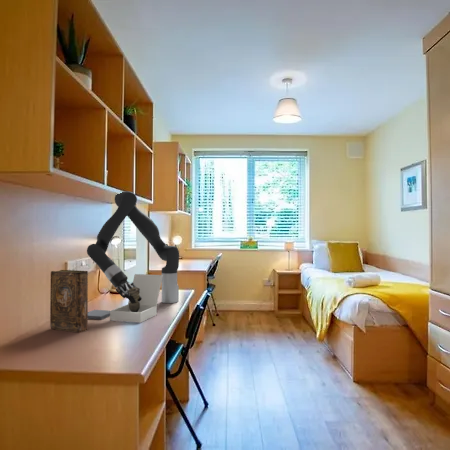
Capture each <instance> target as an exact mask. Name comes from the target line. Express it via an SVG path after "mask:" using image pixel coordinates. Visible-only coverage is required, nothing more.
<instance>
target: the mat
mask: <svg viewBox="0 0 450 450" xmlns="http://www.w3.org/2000/svg"><path fill="white" fill-rule="evenodd" d="M110 311H111V310H104V309H103V310H102V309H94V310H89V311H88V320H98V321H99V320H104V319H106V318H110Z"/></svg>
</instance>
